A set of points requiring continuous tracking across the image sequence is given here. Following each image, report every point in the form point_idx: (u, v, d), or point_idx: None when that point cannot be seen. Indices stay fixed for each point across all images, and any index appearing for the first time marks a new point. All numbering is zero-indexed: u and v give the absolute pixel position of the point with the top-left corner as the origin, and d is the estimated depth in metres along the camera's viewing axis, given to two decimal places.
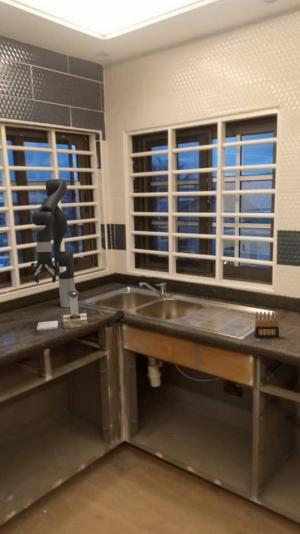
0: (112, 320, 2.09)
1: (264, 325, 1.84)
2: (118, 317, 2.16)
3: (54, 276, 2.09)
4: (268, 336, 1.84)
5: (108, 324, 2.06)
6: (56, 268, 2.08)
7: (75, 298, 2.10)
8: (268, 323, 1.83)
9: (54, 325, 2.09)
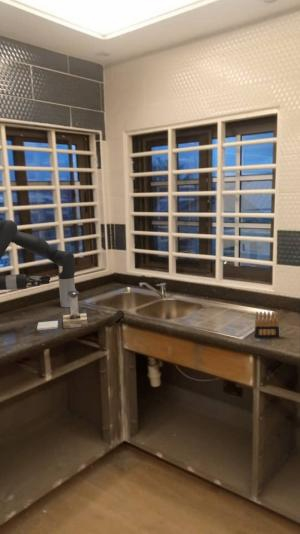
0: (113, 320, 2.09)
1: (264, 325, 1.84)
2: (118, 317, 2.16)
3: (42, 283, 2.02)
4: (268, 336, 1.84)
5: (109, 324, 2.06)
6: None
7: (75, 298, 2.10)
8: (268, 323, 1.83)
9: (54, 325, 2.09)
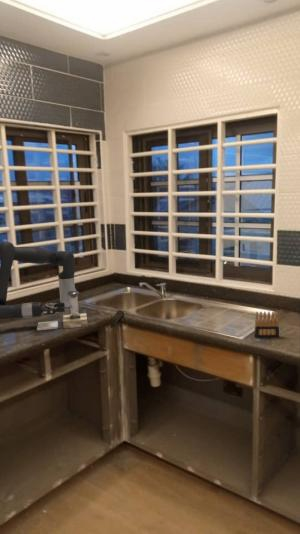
0: (115, 320, 2.09)
1: (264, 325, 1.84)
2: (119, 317, 2.16)
3: (57, 311, 2.06)
4: (268, 336, 1.84)
5: (112, 324, 2.05)
6: None
7: (75, 298, 2.10)
8: (268, 323, 1.83)
9: (54, 325, 2.09)
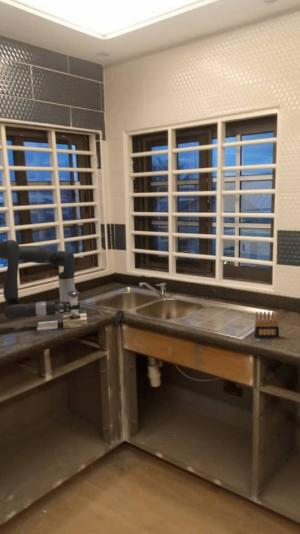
0: (117, 320, 2.09)
1: (264, 325, 1.84)
2: (120, 317, 2.16)
3: (73, 309, 2.10)
4: (268, 336, 1.84)
5: (114, 324, 2.05)
6: None
7: (75, 298, 2.10)
8: (268, 323, 1.83)
9: (54, 325, 2.09)
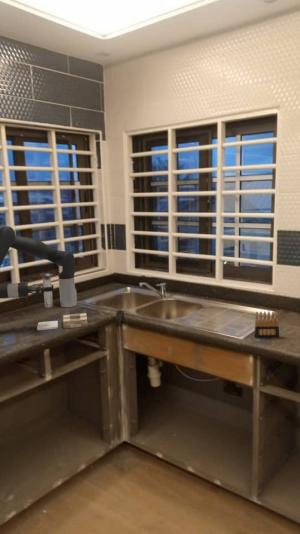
0: (119, 320, 2.09)
1: (264, 325, 1.84)
2: (121, 317, 2.16)
3: (46, 291, 2.05)
4: (268, 336, 1.84)
5: (117, 324, 2.05)
6: None
7: (48, 280, 2.06)
8: (268, 323, 1.83)
9: (54, 325, 2.09)
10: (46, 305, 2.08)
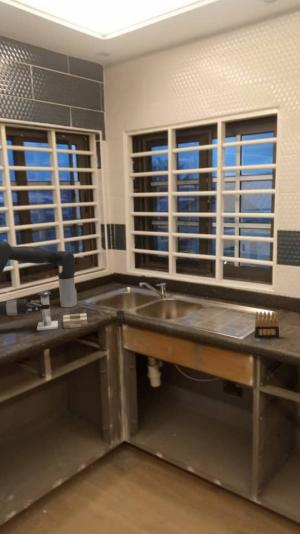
0: (122, 320, 2.09)
1: (264, 325, 1.84)
2: None
3: (43, 308, 2.05)
4: (268, 336, 1.84)
5: (120, 324, 2.05)
6: None
7: (46, 298, 2.08)
8: (268, 323, 1.83)
9: (54, 325, 2.09)
10: (45, 323, 2.10)
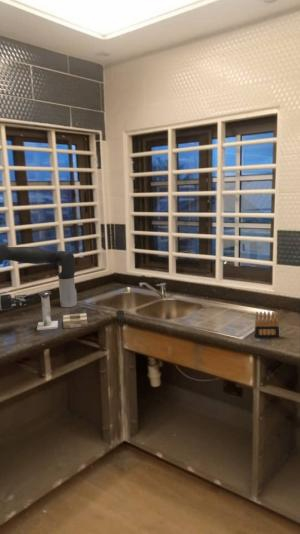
0: None
1: (264, 325, 1.84)
2: None
3: (27, 303, 2.04)
4: (268, 336, 1.84)
5: (122, 324, 2.05)
6: None
7: (47, 298, 2.07)
8: (268, 323, 1.83)
9: (54, 325, 2.09)
10: (45, 323, 2.10)
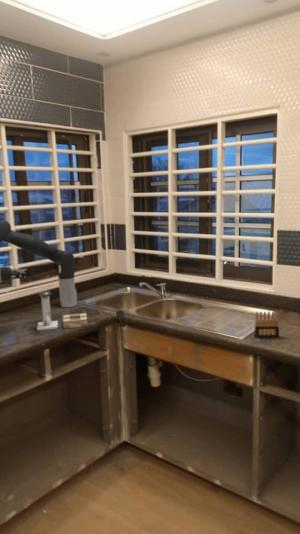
0: None
1: (264, 325, 1.84)
2: None
3: (27, 276, 2.04)
4: (268, 336, 1.84)
5: (124, 324, 2.06)
6: None
7: (47, 298, 2.07)
8: (268, 323, 1.83)
9: (54, 325, 2.09)
10: (45, 323, 2.09)
